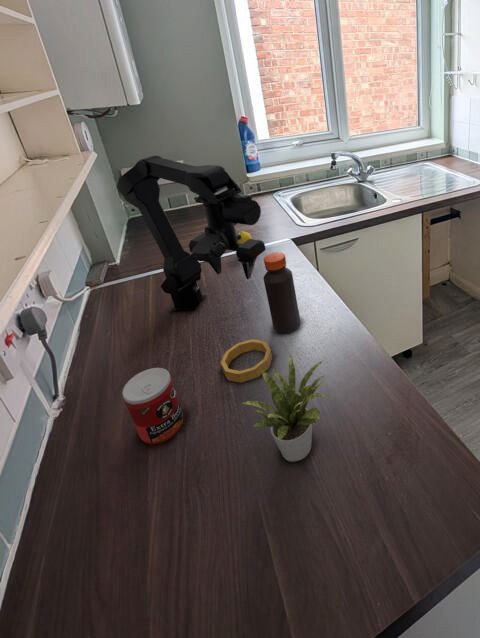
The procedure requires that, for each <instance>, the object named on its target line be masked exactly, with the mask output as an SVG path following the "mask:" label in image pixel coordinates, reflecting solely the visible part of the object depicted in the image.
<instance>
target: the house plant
mask: <svg viewBox="0 0 480 638" xmlns="http://www.w3.org/2000/svg"><path fill="white" fill-rule="evenodd" d="M324 361H325V360H321V361H319V362H317V363H316V364H314V365H313V366H311V368H310V369H309V370H307V372H306V374H305V375H304V376H303V378H302V380H301V381H300V383H299V387H298V391H297V393H296V383H297V382H296V367H295V365H294V358H293V355H292V353H290V354H289V359H288V377H287V375H284V378H283V376H281V374H280V373H279V372H278V371H277V368H276V367H275V369H273V368H271V369H272V372H273V377H271V376H270V375H269V374H268V373H267V372H266V371H265V372H263V371H261V373H262V374H261V376H262V379H264V382H265V384H266V386H267V388H268V389H269V393H270V395H271V399H272V403H273V405H274V407H275V408H276V409H275V408H273V407H272V406H270V405H269V404H267V403H265V402H263V401H260V400H246V401H244V402H240V404H241V405H249V406H254V407H256V408H258V409H255V408H254V409H253V410H254V411H255V412H256V413H258V414H259V415H260V416H261V417H262V418H263V419H260V420H259V421H257V422H256V423H255V424H254V425H253V427H256V428H270V434H271V435H272V438H273V441H275V443H276V446H277V447H278V449H279V451H280V453H281V455H282V457H283V459H285V460H286V461H288V462H290V463H291V462H298V461H301V460H303V459H305V458H306V457H307V456H308V455H309V453H310V452H311V449H312V444H313V443H312V442H313V441H312V440H313V425H316V426H318V423H317V421H316V420H317V419H318V420H321V412H320V410H319V408H317V407H312V408H307V407H308V406H307V405H308V404H309V401H311V400H314V399H316V398H330V396H329V395H327V394H324V393H319V392H316V391H317V389H318V388H319V387H320V386H321V385H322V384H323V383H324V382H325V381H324V380H323V381H321V382H319V381H320V380H321V379H323V378H324V377H325V375H322V376H319V377H318V378H316V379H315V380H314V381H313V382H312V383H311V384H310V385H307V383H308V381H309V379H310V378H311V377H312V375H313V373H314V372H315V370H316V369H317V368H318V367H319V366H321V364H322V363H323V362H324ZM276 377H277V378H278V380H279V382H280V384H279V383H277V381H276ZM259 408H260V409H262V410H260V409H259ZM263 410H264V411H266V412H268V413H269V414H267V413H266V412H264V411H263Z"/></svg>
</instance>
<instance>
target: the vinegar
mask: <svg viewBox="0 0 480 638" xmlns="http://www.w3.org/2000/svg"><path fill="white" fill-rule="evenodd" d="M263 263H264V267H265V270H266V272H265V274H264V275H263V277H262V278H263V284H264V288H265V293H266V299H267V304H268V308H269V313H270V317H271V322H272V323H271V324H272V327H273V330H274V332H276V333H277V334H280V335H287V334H291V333H293V332H295V331H297V330H298V329H299V327H300V325H301V317H300V310H299V305H298V300H297V299H298V298H297V293H296V287H295V283H294V276H293V271H292V270H291V269H290V268H288V267H287V258H286V254H285V253H284V252H279V251H276V252H271V253H268V254H267V255H265V256H264V257H263Z"/></svg>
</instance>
